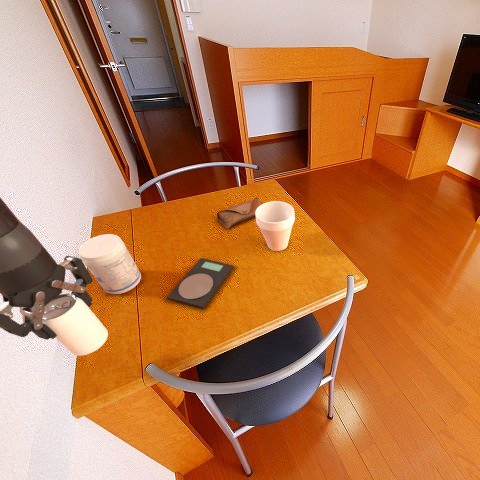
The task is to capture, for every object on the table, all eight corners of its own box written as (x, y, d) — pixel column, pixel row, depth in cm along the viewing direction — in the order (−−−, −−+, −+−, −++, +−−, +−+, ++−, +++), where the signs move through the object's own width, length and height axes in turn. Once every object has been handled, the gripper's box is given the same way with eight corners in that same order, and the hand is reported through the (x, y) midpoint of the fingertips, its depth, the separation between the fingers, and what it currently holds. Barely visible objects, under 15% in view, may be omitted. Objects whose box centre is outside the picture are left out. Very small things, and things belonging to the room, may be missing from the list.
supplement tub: (97, 286, 78) (68, 248, 69) (129, 266, 85) (107, 228, 75) (117, 301, 75) (89, 263, 65) (149, 279, 81) (128, 241, 71)
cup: (301, 238, 97) (301, 206, 88) (285, 260, 88) (282, 227, 80) (271, 229, 100) (267, 197, 92) (252, 250, 92) (246, 217, 83)
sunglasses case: (227, 229, 99) (220, 211, 97) (222, 229, 105) (214, 212, 103) (269, 211, 108) (263, 195, 107) (262, 212, 114) (256, 196, 112)
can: (74, 334, 57) (38, 298, 50) (110, 323, 60) (81, 287, 52) (68, 362, 53) (28, 327, 45) (107, 349, 55) (75, 313, 48)
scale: (203, 309, 74) (201, 305, 73) (168, 299, 76) (166, 296, 75) (233, 267, 85) (232, 264, 84) (201, 260, 87) (200, 256, 86)
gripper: (-32, 297, 35) (47, 361, 45) (73, 230, 45) (118, 295, 56) (-74, 284, 36) (13, 349, 47) (38, 222, 47) (88, 287, 58)
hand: (70, 319), depth 51 cm, fingers closed on can, 6 cm apart
